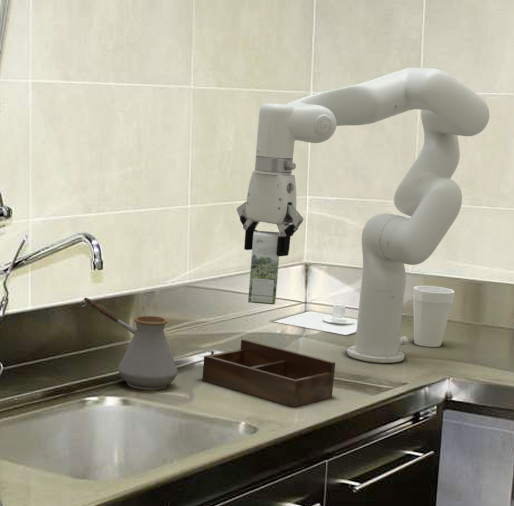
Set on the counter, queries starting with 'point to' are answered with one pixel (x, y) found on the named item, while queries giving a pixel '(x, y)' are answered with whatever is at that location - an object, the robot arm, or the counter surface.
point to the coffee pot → (145, 352)
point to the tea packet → (264, 268)
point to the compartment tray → (271, 373)
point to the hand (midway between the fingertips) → (266, 252)
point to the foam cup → (431, 314)
